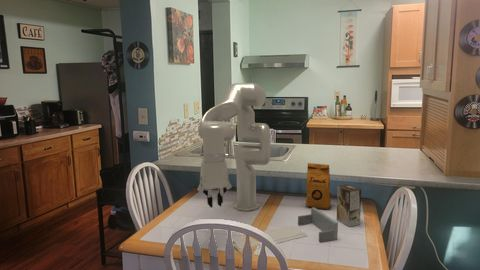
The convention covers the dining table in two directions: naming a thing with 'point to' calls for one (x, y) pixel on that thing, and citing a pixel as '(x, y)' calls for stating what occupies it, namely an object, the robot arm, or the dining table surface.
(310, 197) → the coffee package
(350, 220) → the coffee box
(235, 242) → the baseboard molding
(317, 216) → the u-shaped bracket
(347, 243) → the dining table surface
